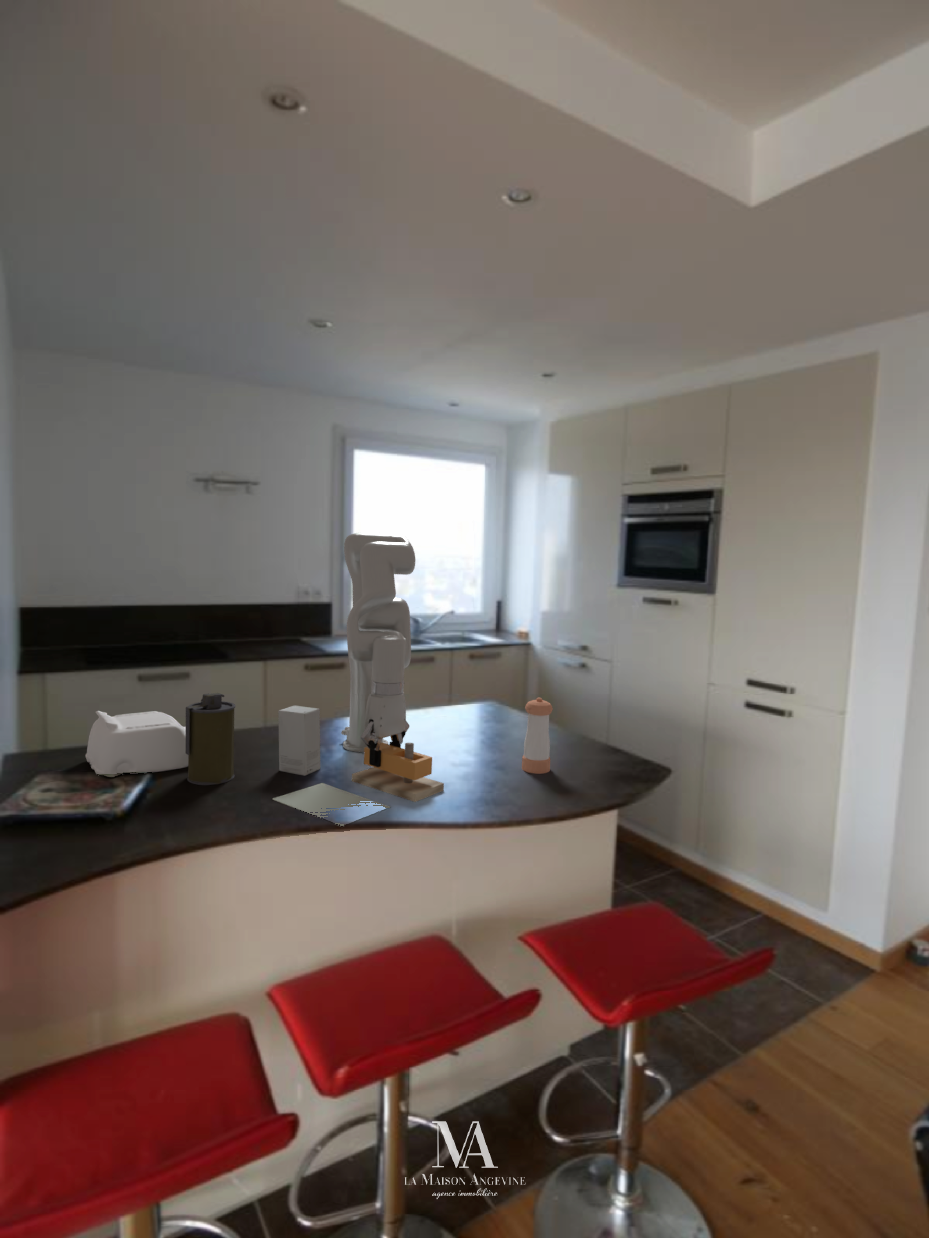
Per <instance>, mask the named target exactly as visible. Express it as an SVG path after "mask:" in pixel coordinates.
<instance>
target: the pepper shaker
mask: <svg viewBox="0 0 929 1238" xmlns="http://www.w3.org/2000/svg"><path fill="white" fill-rule="evenodd" d="M524 709H525V711H526V713H527V723H526V725H527V727H526V732H525V738H524V742H523V755H522V758H521V770H522V771H524V772H526V773H529V774H537V775H538V774H547V773H549V772H550V770H551V757H550V751H551V748H550V747H551V741H550V731H549V729H550V728H549V726H550V715H552V712H553V710H554V708H553V705H552V704H551V703H550V702H549V701H547V700H544V699H543V698H542V697H536V699H531V700H530V701H527V703H526V704H525V707H524Z"/></svg>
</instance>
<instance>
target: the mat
mask: <svg viewBox="0 0 929 1238" xmlns="http://www.w3.org/2000/svg"><path fill="white" fill-rule="evenodd" d="M272 800H273V801H275V802H278V803H280V804H282V805H285V806H288V807H290V808H292V809H295V808H296V810H297V811H300V810H301V812H303V811H304V812H303V813H305V812H307V813H306V814H308V813H309V814H308V815H310V814H312V815H311V816H313V815H317V817H316V818H318V817H320V818H319V819H321V817H323V818H324V817H328V816H320V815H321V814H322V815H326V814H328V813H320V812H326V811H330V810H331V811H332V810H334V811H335V810H339V809H326V808H341V807H353V806H358V807H359V806H361V805H357V804H359V803H365V804H366V803H370V802H360V801H371V800H372V799H369V798H366V797H363V796H361V795H358V794H355V793H352V792H349V791H346V790H343V789H340V788H337V787H334V786H332V785H329V784H326V783H324V782H321V783H317V784H314V785H312V786H308V787H305V788H302V789H298V790H295V791H292V792H289V793H286V794H284V795H280V796H276V797H273V798H272ZM372 801H374V800H372ZM371 803H375V804H376V803H377V804H381V805H373V806H383V807H385V808H389V809H391V808H390V807H391V806H389V805H387V804H383V803H380V802H378V801H375V802H371ZM348 804H349V805H348ZM351 804H356V805H351ZM382 804H383V805H382ZM366 806H368V805H366ZM321 808H322V809H321ZM340 810H345V809H340ZM310 812H313V813H310ZM315 812H318V813H315ZM329 814H330V813H329ZM336 824H338V825H337V826H339V824H340V823H335V824H334V825H336ZM341 826H343V827H345V826H344V824H340V826H339V827H341Z"/></svg>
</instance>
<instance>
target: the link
mask: <svg viewBox="0 0 929 1238" xmlns="http://www.w3.org/2000/svg"><path fill="white" fill-rule="evenodd" d="M389 744H390V743H388V744H385V743H381V745H380V749H379V750H381V766H380V767H376V766H373V765H370V764H369V758H370V749H369V748H368V747H365V748H364V754H363V764H364V765H366V766H369V767H371V768H372V767H375V768H378V769H381V770H384V771H387V772H390V773H393V774H396V775H399V776H402V777H405V778H408V779H412V780H417V779H419V778H422V777H425V778H426V776H430V775H432V773H433V772H432V771H433V757H432V756H429V755H426V754H422V753H419V752H416V751H414V753H413V760H411V759H407V758H405V748H402V747H401V748H399V747H395V746H392V745H389Z"/></svg>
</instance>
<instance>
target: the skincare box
mask: <svg viewBox="0 0 929 1238" xmlns="http://www.w3.org/2000/svg"><path fill="white" fill-rule="evenodd" d="M320 710H321V709H320V708H316V707H309V706H308V707H307V706H301V705H291V706H288V707H286V708H282V709H279V710H278V713H277V714H278V715H277V716H278V760H279V761H278V763H279V765H278V766H279V769H278V770H279V771H280V772H285V773H289V774H293V775H294V774H295V775H299V776H304V777H305V776H307V775H310V774H312V773H315V772H317V771H319V770H320V769H321V720H320V718H321V711H320Z"/></svg>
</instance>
